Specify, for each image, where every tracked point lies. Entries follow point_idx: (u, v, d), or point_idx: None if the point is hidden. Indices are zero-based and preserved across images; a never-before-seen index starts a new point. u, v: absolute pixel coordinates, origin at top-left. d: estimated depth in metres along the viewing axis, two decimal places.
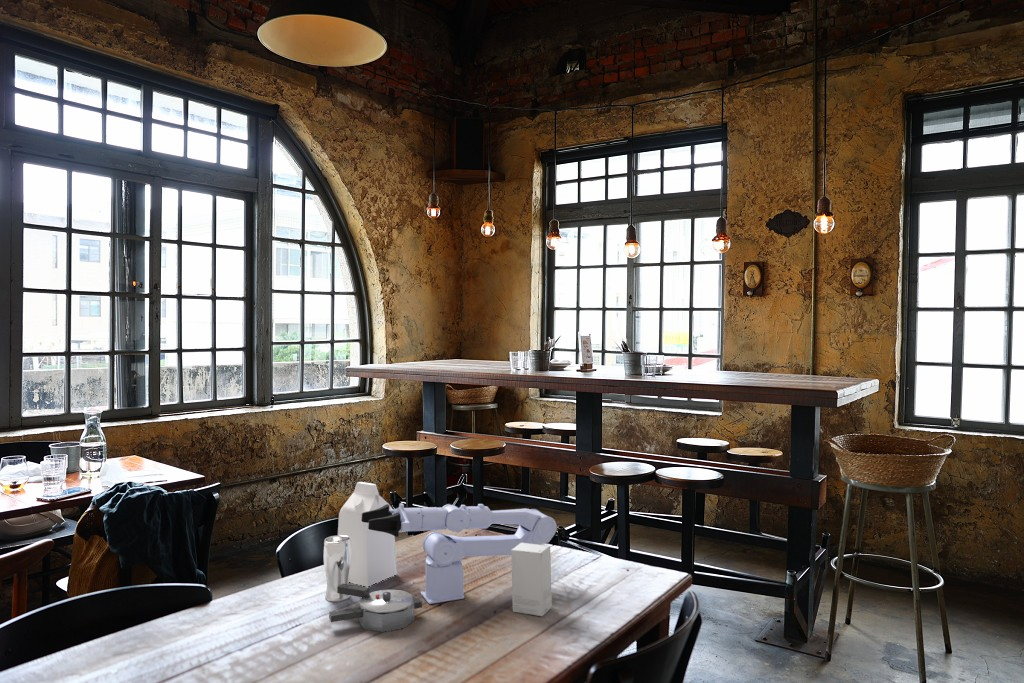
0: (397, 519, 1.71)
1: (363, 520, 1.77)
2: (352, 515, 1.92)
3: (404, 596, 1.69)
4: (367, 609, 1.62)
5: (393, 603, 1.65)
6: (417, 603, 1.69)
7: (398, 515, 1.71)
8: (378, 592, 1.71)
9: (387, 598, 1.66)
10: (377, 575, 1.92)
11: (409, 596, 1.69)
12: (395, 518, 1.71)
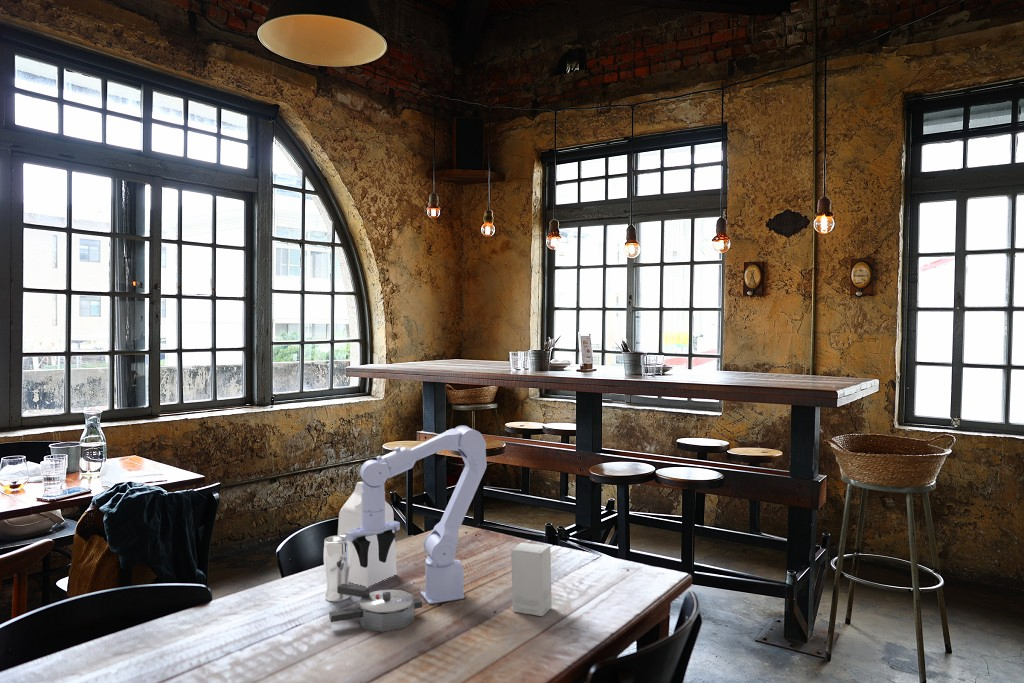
0: (352, 541, 1.74)
1: (383, 561, 1.77)
2: (352, 515, 1.92)
3: (404, 596, 1.69)
4: (367, 609, 1.62)
5: (393, 603, 1.65)
6: (417, 603, 1.69)
7: None
8: (378, 592, 1.71)
9: (387, 598, 1.66)
10: (377, 575, 1.92)
11: (409, 596, 1.69)
12: (352, 542, 1.74)
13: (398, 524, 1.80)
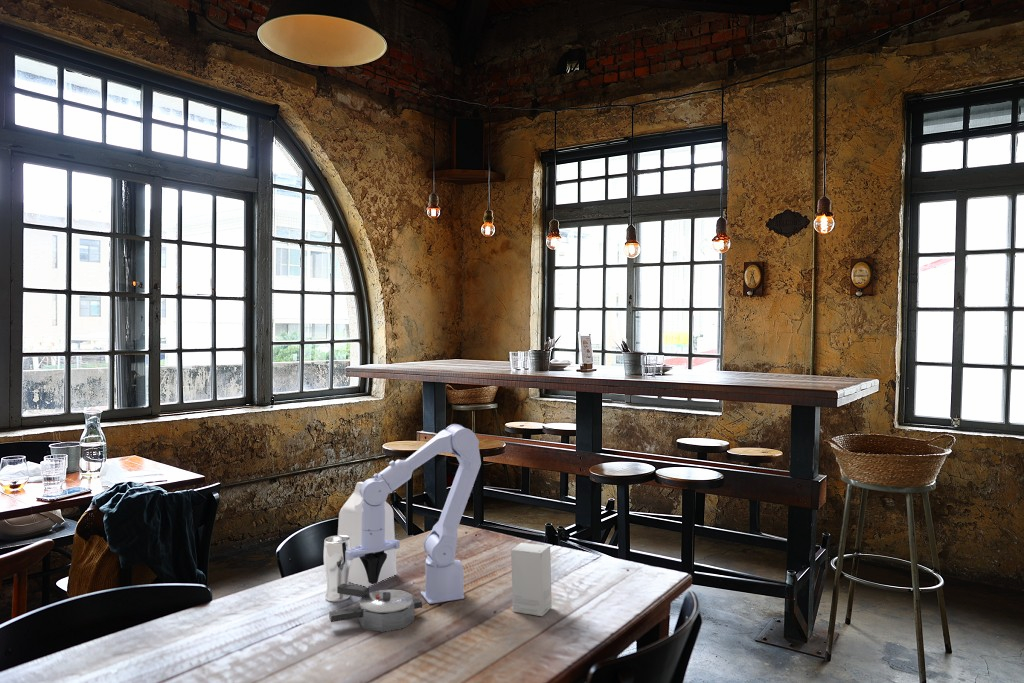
0: (360, 557, 1.75)
1: None
2: (352, 515, 1.92)
3: (404, 596, 1.69)
4: (367, 609, 1.62)
5: (393, 603, 1.65)
6: (417, 603, 1.69)
7: None
8: (378, 592, 1.71)
9: (387, 598, 1.66)
10: None
11: (409, 596, 1.69)
12: (361, 559, 1.76)
13: (398, 542, 1.80)
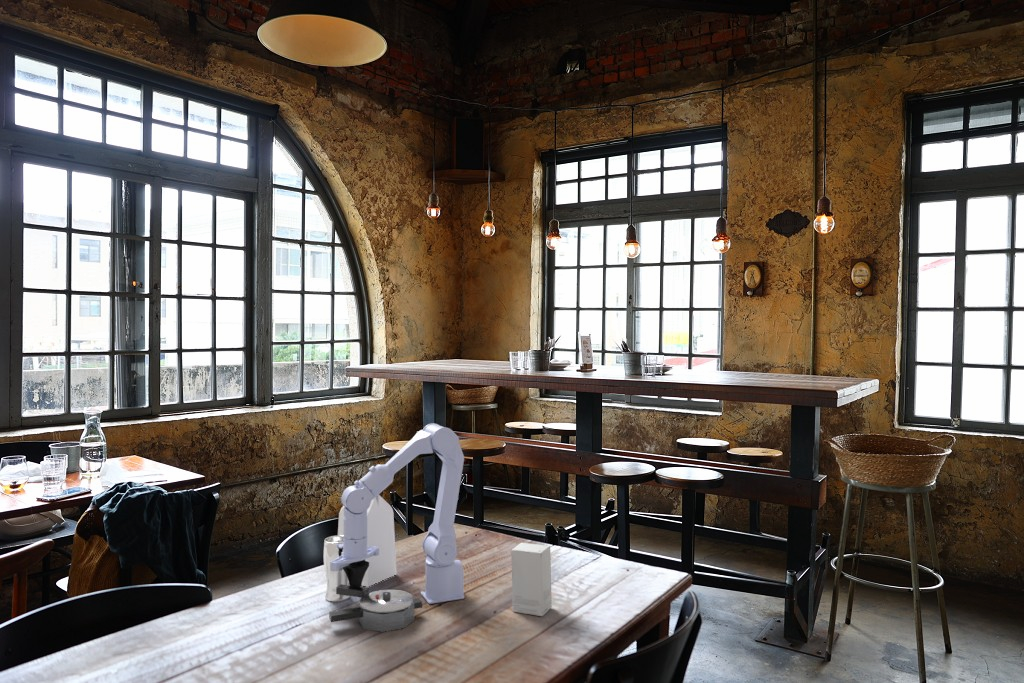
0: (343, 567, 1.71)
1: None
2: None
3: (404, 596, 1.69)
4: (368, 609, 1.62)
5: (393, 603, 1.65)
6: (417, 603, 1.69)
7: None
8: (377, 592, 1.71)
9: (387, 598, 1.66)
10: (377, 575, 1.92)
11: (409, 596, 1.69)
12: (344, 568, 1.72)
13: (377, 549, 1.78)
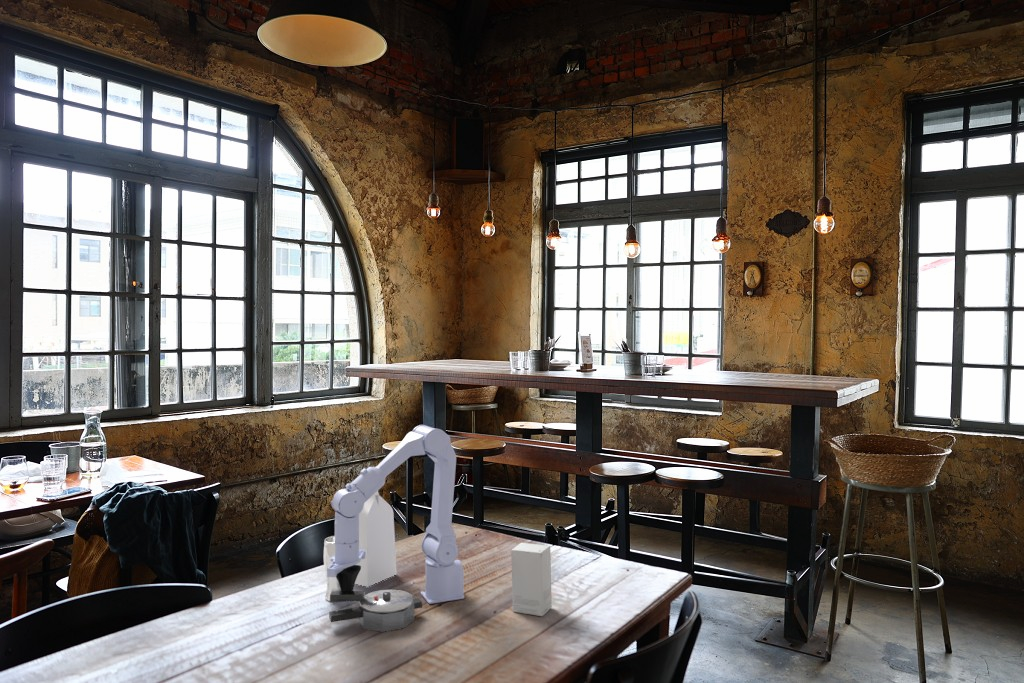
0: None
1: None
2: None
3: (401, 594, 1.70)
4: (376, 611, 1.61)
5: (397, 601, 1.66)
6: (417, 603, 1.69)
7: None
8: (371, 594, 1.70)
9: (388, 598, 1.67)
10: (377, 575, 1.92)
11: (405, 593, 1.71)
12: None
13: (364, 552, 1.75)
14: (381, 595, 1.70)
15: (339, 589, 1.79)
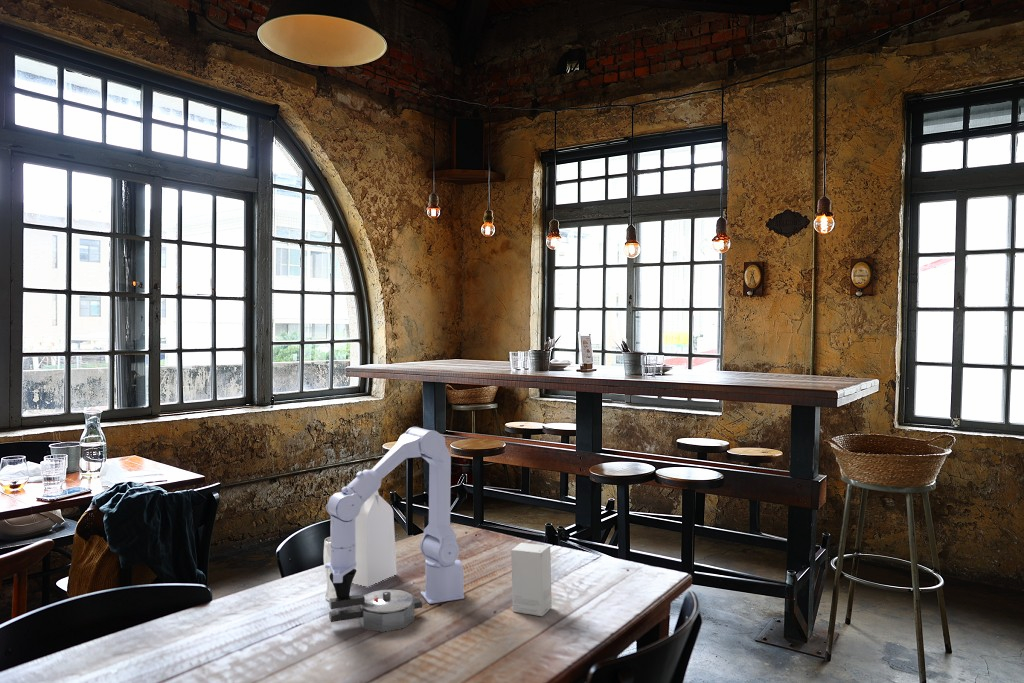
0: None
1: None
2: None
3: (396, 592, 1.71)
4: (386, 611, 1.61)
5: (399, 600, 1.67)
6: (417, 603, 1.69)
7: (330, 578, 1.63)
8: (366, 597, 1.68)
9: (389, 597, 1.67)
10: (377, 575, 1.92)
11: (400, 591, 1.72)
12: None
13: None
14: (377, 596, 1.69)
15: None
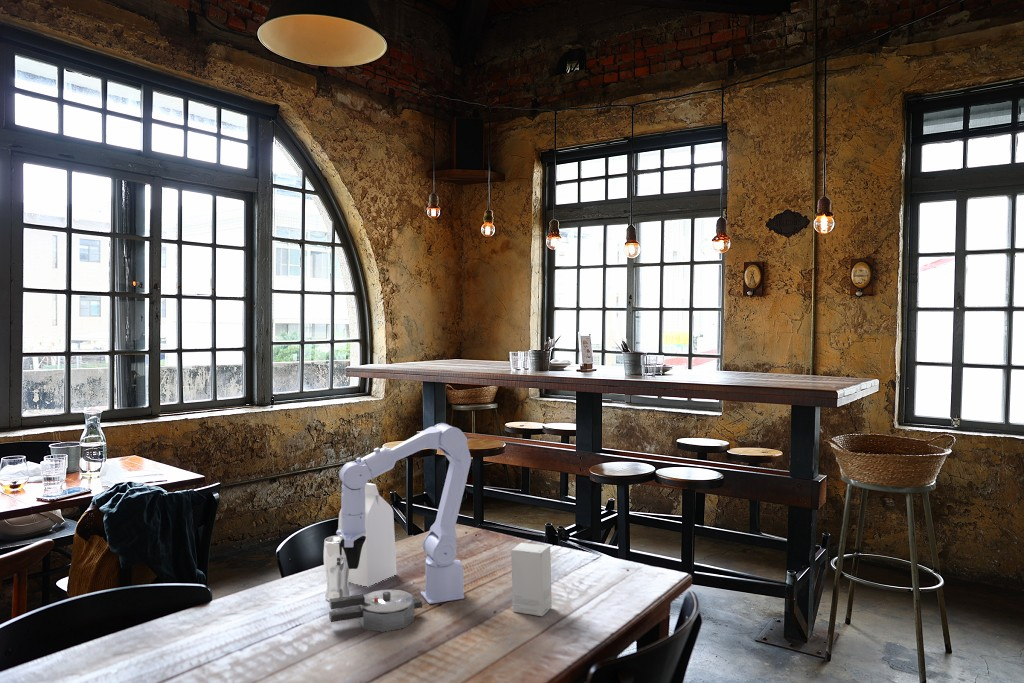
0: None
1: None
2: None
3: (396, 592, 1.71)
4: (386, 611, 1.61)
5: (399, 600, 1.67)
6: (417, 603, 1.69)
7: (341, 544, 1.70)
8: (366, 597, 1.68)
9: (389, 597, 1.67)
10: (377, 575, 1.92)
11: (400, 591, 1.72)
12: (344, 546, 1.70)
13: None
14: (377, 596, 1.69)
15: (339, 589, 1.79)
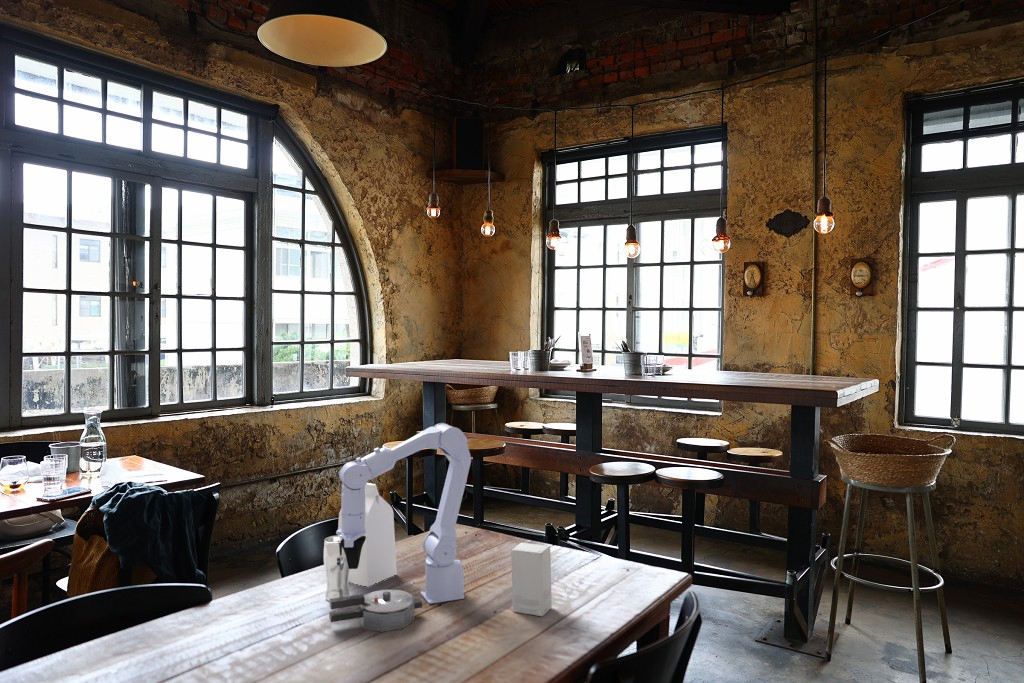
0: None
1: None
2: None
3: (396, 592, 1.71)
4: (386, 611, 1.61)
5: (399, 600, 1.67)
6: (417, 603, 1.69)
7: (341, 544, 1.70)
8: (366, 597, 1.68)
9: (389, 597, 1.67)
10: (377, 575, 1.92)
11: (400, 591, 1.72)
12: (344, 546, 1.70)
13: None
14: (377, 596, 1.69)
15: (339, 589, 1.79)
